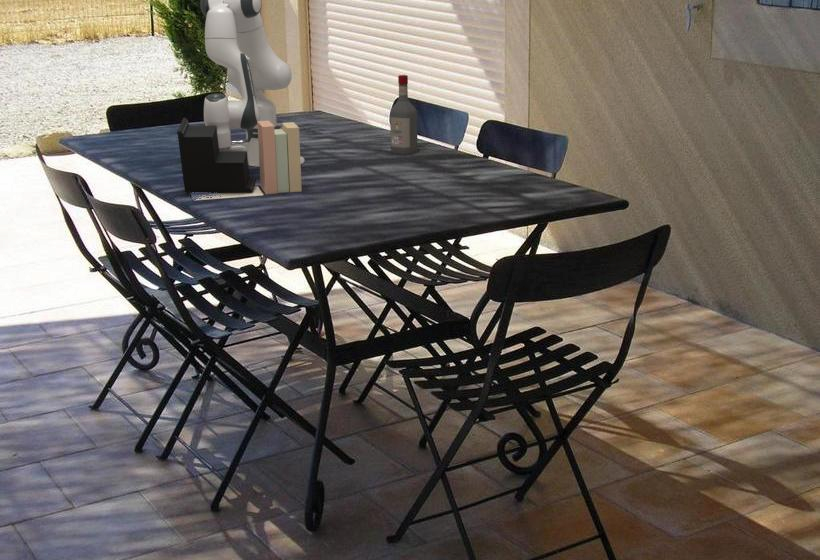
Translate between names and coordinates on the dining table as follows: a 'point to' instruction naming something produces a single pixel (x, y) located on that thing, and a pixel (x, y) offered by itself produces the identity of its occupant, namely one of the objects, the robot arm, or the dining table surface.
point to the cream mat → (233, 194)
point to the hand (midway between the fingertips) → (220, 180)
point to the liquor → (403, 122)
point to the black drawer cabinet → (211, 162)
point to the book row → (279, 157)
